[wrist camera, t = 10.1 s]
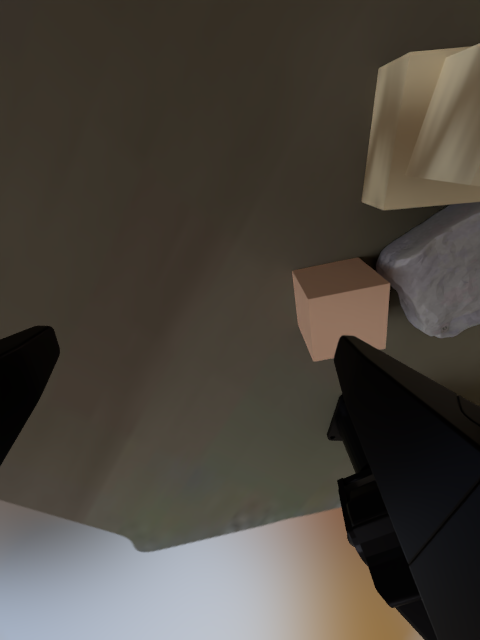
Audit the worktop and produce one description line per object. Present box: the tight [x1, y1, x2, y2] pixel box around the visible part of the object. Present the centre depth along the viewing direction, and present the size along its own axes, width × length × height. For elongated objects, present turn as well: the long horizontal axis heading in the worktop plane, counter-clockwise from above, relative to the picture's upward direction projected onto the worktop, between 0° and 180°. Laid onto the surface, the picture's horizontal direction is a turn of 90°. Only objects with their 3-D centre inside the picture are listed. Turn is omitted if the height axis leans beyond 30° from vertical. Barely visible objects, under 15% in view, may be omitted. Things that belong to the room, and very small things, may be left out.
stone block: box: [376, 202, 480, 338], centre depth 21 cm, size 12×5×10 cm
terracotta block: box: [292, 257, 390, 362], centre depth 21 cm, size 5×5×5 cm
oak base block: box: [362, 47, 480, 210], centre depth 17 cm, size 7×7×4 cm
